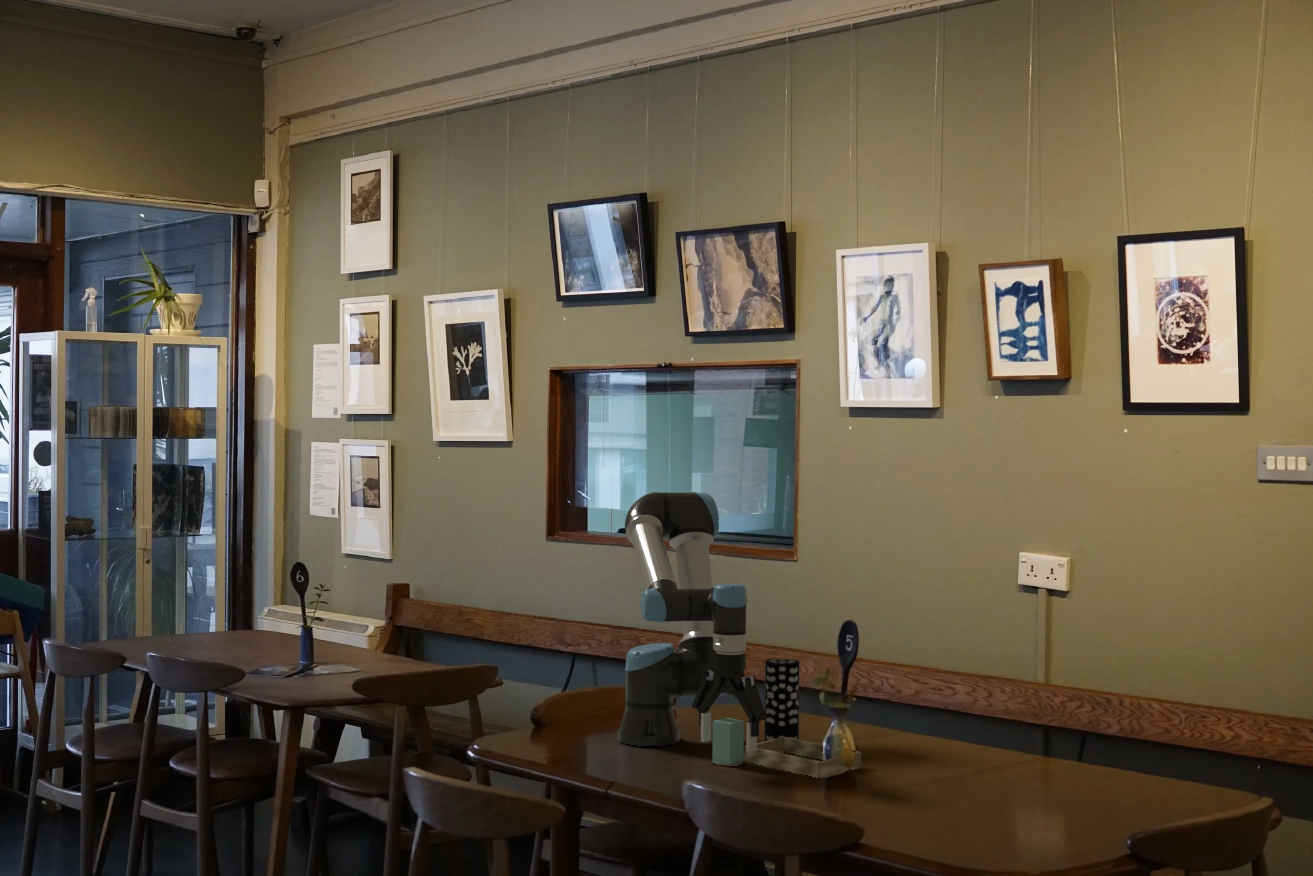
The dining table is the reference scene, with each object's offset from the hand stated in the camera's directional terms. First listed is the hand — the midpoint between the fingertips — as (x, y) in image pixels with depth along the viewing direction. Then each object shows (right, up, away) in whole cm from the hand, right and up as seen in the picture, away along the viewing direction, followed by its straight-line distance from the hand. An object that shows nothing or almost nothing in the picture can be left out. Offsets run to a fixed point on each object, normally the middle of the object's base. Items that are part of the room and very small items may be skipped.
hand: (728, 746), depth 284 cm
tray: (+17, -4, -1) cm, 17 cm away
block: (0, -3, 0) cm, 3 cm away
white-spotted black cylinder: (+14, -5, +21) cm, 26 cm away
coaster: (0, -4, 0) cm, 4 cm away
